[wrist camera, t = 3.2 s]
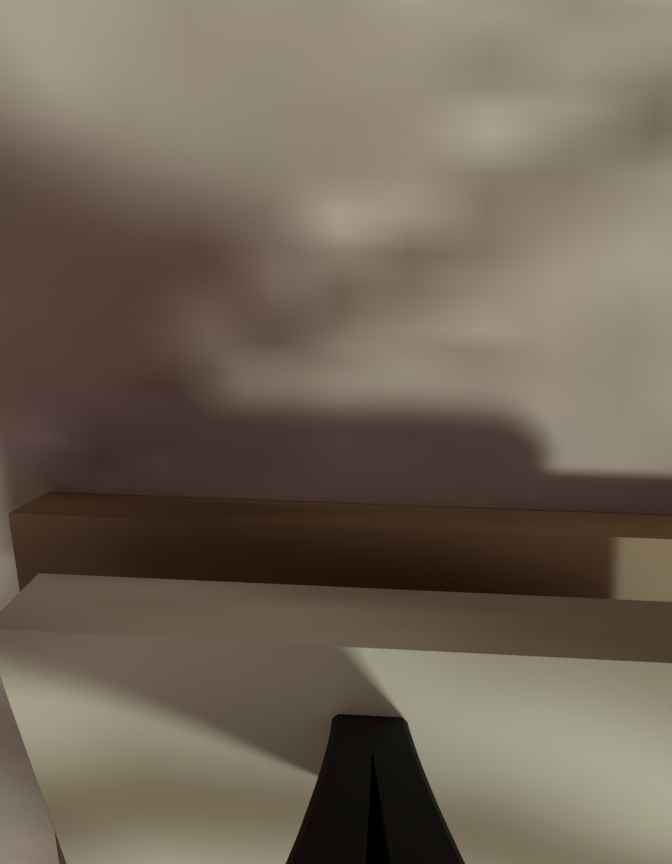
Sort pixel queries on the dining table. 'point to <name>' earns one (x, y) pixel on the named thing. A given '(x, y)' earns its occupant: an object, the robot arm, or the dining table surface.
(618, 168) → the dining table surface
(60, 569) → the floor board
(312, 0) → the dining table surface
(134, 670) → the angled plank
